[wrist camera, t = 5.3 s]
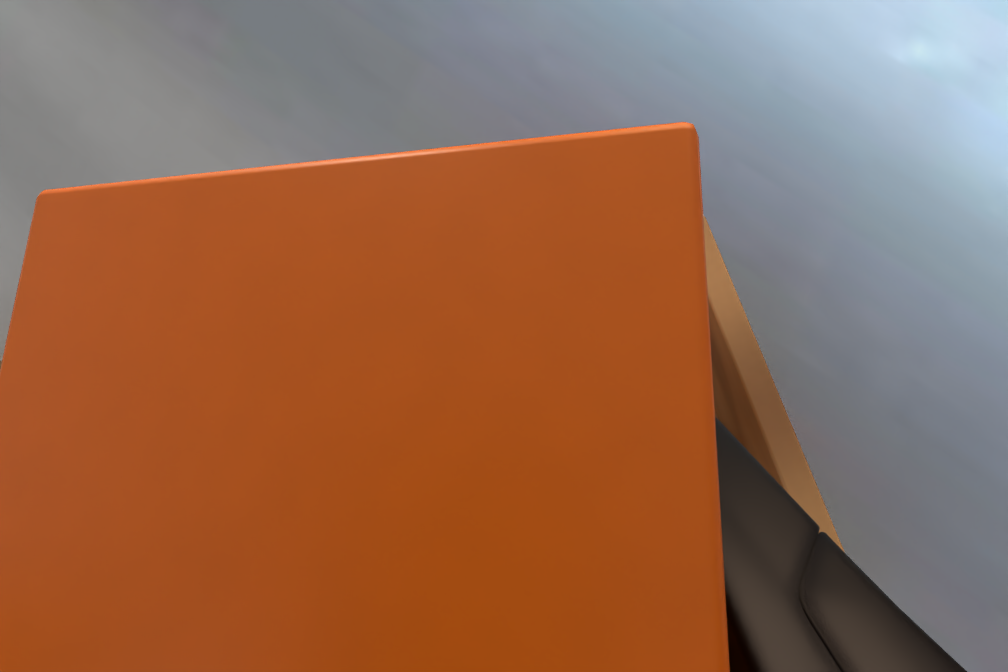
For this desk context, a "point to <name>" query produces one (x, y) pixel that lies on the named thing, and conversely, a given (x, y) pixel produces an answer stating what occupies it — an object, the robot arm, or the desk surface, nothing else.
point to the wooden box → (754, 393)
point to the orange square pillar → (368, 417)
